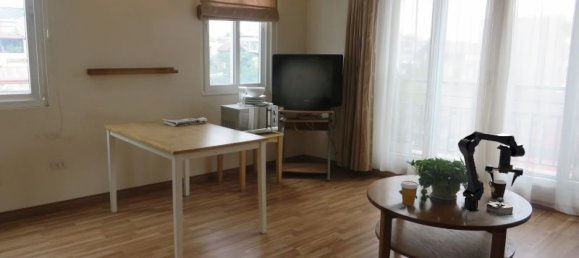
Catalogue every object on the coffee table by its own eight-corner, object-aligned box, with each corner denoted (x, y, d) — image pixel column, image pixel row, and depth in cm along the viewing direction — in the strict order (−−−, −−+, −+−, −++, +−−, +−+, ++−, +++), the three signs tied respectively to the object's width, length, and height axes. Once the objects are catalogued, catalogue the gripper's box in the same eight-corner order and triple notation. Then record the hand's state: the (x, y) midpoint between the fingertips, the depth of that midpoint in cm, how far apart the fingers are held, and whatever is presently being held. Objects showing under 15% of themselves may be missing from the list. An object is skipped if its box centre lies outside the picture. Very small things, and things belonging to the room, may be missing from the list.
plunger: (499, 212, 250) (500, 199, 249) (495, 210, 253) (496, 197, 252) (503, 212, 251) (504, 199, 250) (499, 210, 254) (500, 197, 253)
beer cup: (418, 202, 265) (419, 182, 263) (415, 207, 257) (416, 186, 255) (401, 200, 269) (402, 179, 267) (397, 204, 261) (399, 183, 259)
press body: (498, 215, 247) (499, 208, 246) (482, 208, 258) (483, 201, 257) (512, 214, 250) (513, 207, 249) (496, 207, 261) (496, 200, 260)
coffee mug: (506, 200, 272) (508, 184, 271) (490, 199, 274) (492, 182, 272) (502, 195, 283) (503, 178, 282) (486, 193, 285) (488, 177, 283)
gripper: (485, 158, 253) (482, 186, 256) (524, 162, 245) (521, 191, 248) (487, 154, 263) (484, 181, 266) (524, 158, 255) (521, 186, 258)
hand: (502, 185), depth 259 cm, fingers open, 9 cm apart
